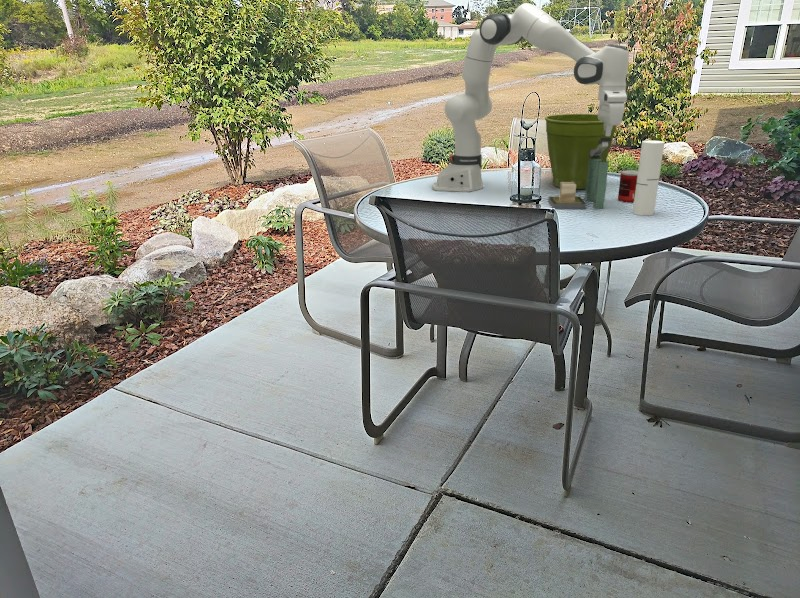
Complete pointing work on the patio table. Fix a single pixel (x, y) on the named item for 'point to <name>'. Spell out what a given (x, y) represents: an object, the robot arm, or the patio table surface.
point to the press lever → (600, 147)
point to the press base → (588, 187)
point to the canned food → (627, 185)
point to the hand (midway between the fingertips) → (607, 135)
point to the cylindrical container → (648, 177)
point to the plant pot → (573, 145)
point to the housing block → (567, 191)
